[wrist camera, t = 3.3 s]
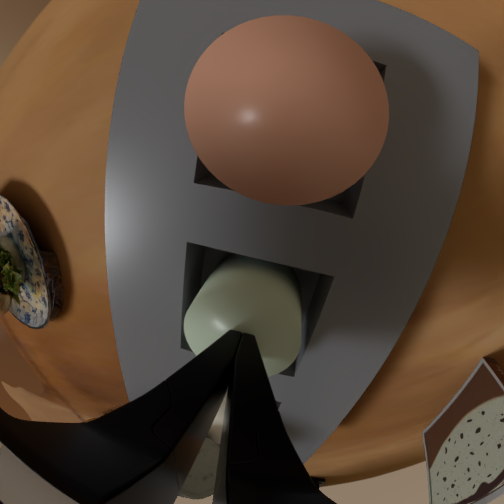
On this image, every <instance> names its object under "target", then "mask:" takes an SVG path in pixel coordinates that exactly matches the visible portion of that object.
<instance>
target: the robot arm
mask: <svg viewBox="0 0 504 504" xmlns="http://www.w3.org/2000/svg"><path fill="white" fill-rule="evenodd" d="M227 389H228V391H227ZM226 392H227V397H226V404H225V411H224V418H223V426H222V433H221V441H220V448H219V456H218V464H217V471H216V479H215V487H214V494H213V502H212V504H337V503H335V502H334V501H332V500H331V499H330V498H328V497H327V496H325V495H324V494H323V493H322V492H321V491H320V490H319V487H320V486H322V485H323V484H325V479H311V478H310V476H309V474H308V472H307V470H306V469H305V467H304V465H303V463H302V461H301V459H300V457H299V456H298V454H297V452H296V450H295V448H294V446H293V444H292V442H291V440H290V438H289V436H288V434H287V431H286V428H285V426H284V423H283V421H282V418H281V415H280V412H279V411H278V410H279V409H278V406H277V403H276V400H275V397H274V394H273V391H272V388H271V384H270V381H269V378H268V375H267V372H266V369H265V366H264V363H263V360H262V356H261V353H260V350H259V347H258V344H257V341H256V337H255V336H254V335H253V334H248V333H243V334H242V332H240V331H236V330H232V329H230V330H229V331H227V332H226V333H225V334H224V335H222V336H221V337H220V338H219V339H217V340H216V341H215V342H213V343H212V344H211V345H210V346H208V347H207V348H206V349H205V350H203V351H202V352H201V353H199V354H198V355H197V356H196V357H194V358H193V359H192V360H190V361H189V362H188V363H186V364H185V365H184V366H182V367H181V368H180V369H178V370H177V371H176V372H174V373H173V374H172V375H170V376H169V377H168V378H166V380H164V381H162V382H161V383H160V384H158V385H157V386H155V387H154V388H152V389H151V390H149V391H148V392H147V393H145V394H143V395H142V396H140V397H138V398H136V399H135V400H133V401H131V402H129V403H127V404H125V405H123V406H121V407H119V408H117V409H115V410H113V411H111V412H109V413H107V414H105V415H103V416H101V417H99V418H97V419H94V420H91V421H87V422H82V423H55V422H38V421H27V420H21V419H18V418H14V417H12V416H11V415H8V414H7V413H6V412H5V411H4V410H2V409H1V408H0V442H1V443H2V444H3V445H2V446H1V448H0V504H174V502H175V500H176V498H177V496H178V494H179V491H180V490H181V488H182V486H183V484H184V482H185V480H186V478H187V476H188V474H189V472H190V470H191V468H192V466H193V463H194V461H195V459H196V457H197V455H198V453H199V451H200V449H201V447H202V445H203V443H204V440H205V438H206V436H207V434H208V432H209V430H210V428H211V426H212V423H213V421H214V419H215V417H216V415H217V413H218V410H219V408H220V406H221V404H222V402H223V399H224V397H225V395H226Z"/></svg>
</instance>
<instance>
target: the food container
mask: <svg viewBox="0 0 504 504" xmlns="http://www.w3.org/2000/svg"><path fill="white" fill-rule="evenodd" d="M422 436H423V442H424V449H425V457H426V465H427V473H428V474H427V475H428V487H429V504H487V503H489V502H491V501H492V500H494V499H496V498H497V497H499V496H500V495H502V494H504V371H503V370H502V368H501V367H500V366H499V364H498V363H497V362H496V361H495V360H494V359H491V358H484V357H483V358H482V359H481V361H480V362H479V364H478V365H477V367H476V368H475V370H474V371H473V372H472V374H471V375H470V377H469V378H468V379H467V381H466V382H465V383H464V385H463V386H462V387H461V389H460V390H459V391H458V392H457V394H456V395H455V396H454V397H453V399H452V400H451V401H450V402H449V403H448V405H447V406H446V407H445V408H444V409H443V410H442V412H441V413H440V414H439V415H438V416H437V417H436V418H435V419H434V420H433V422H432V423H431V424H430V425H429V426H428V427H427V428H426V429H425V430H424V431H423V432H422Z"/></svg>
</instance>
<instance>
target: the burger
mask: <svg viewBox="0 0 504 504" xmlns="http://www.w3.org/2000/svg"><path fill="white" fill-rule="evenodd" d="M58 267H59V265H58V260H57V256H56V254H55V253H54V252H46V251H40V249H39V247H38V246H37V243H36V241H35V239H34V235H33V234H32V232H31V230H30V226H29V224H28V223H27V222H26V221H25V220H24V219H23V218H22V217H21V216H20V214H19V213H18V212H17V210H16V209H15V207H14V205H13V204H12V203H11V202H10V201H9V200H8V199H7V198H5V197H4V196H3V195H1V194H0V316H1V315H3V314H5V313H7V312H8V310H9V311H10V312H11V313H12V314H13V315H14V316H15V317H16V318H17V319H18V320H19V321H20V322H21V323H23V324H25V325H26V326H28V327H29V328H33V329H42V328H44V327H45V326H46V325H47V324H48V321H52V320H54V319H55V318H57V317H58V315H59V314H60V312H61V309H62V305H63V290H62V287H63V286H60V284H61V281H62V279H61V275H60V273H59V270H58ZM59 275H60V278H59Z"/></svg>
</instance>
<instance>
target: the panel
mask: <svg viewBox="0 0 504 504" xmlns="http://www.w3.org/2000/svg"><path fill="white" fill-rule="evenodd" d="M275 15H292V16H301V17H306V18H310V19H314V20H318V21H320V22H323V23H326V24H328V25H330V26H332V27H334V28H336V29H338V30H340V31H341V32H343V33H344V34H346V35H347V36H349V37H350V38H351V39H353V40H354V41H355V42H356V43H357V44H358V45H359V46H360V47H362V49H363V50H364V51H365V52H366V53H367V54H368V56H369V57H370V58H371V60H372V61H373V63H374V64H375V66H376V67H377V69H378V71H379V73H380V75H381V77H382V80H383V82H384V85H385V89H386V92H387V97H388V103H389V123H388V130H387V134H386V138H385V141H384V144H383V147H382V149H381V151H380V153H379V155H378V157H377V159H376V160H375V162H374V163H373V165H372V166H371V167H370V169H369V170H368V171H367V172H366V173H365V175H364V176H363V177H361V178H360V179H359V180H358V181H357V182H356V183H355V184H354V185H352V186H351V187H349V188H348V189H346V190H345V191H343V192H341V193H339V194H337V195H335V196H333V197H331V198H328V199H325V200H322V201H319V202H315V203H310V204H306V205H294V206H289V205H275V204H269V203H264V202H260V201H257V200H253V199H251V198H248V197H246V196H244V195H241V194H239V193H237V192H236V191H234V190H232V189H230V188H229V187H227V186H226V185H225V184H223V183H222V182H221V181H219V180H218V179H217V178H216V177H215V176H214V175H213V174H212V173H211V172H210V171H209V170H208V169H207V168H206V166H205V165H204V164H203V163H202V161H201V160H200V158H199V157H198V155H197V153H196V152H195V150H194V148H193V145H192V143H191V141H190V139H189V135H188V132H187V128H186V123H185V116H184V100H185V92H186V88H187V84H188V80H189V78H190V75H191V73H192V70H193V68H194V66H195V65H196V63H197V61H198V60H199V58H200V57H201V55H202V54H203V53H204V52H205V50H206V49H207V48H208V47H209V46H210V45H211V44H212V43H213V42H214V41H215V40H216V39H217V38H219V37H220V36H221V35H223V34H224V33H225V32H227V31H229V30H230V29H232V28H234V27H236V26H238V25H240V24H242V23H245V22H247V21H250V20H254V19H257V18H261V17H267V16H275ZM478 74H479V51H478V50H477V49H475V48H474V47H472V46H471V45H469V44H467V43H466V42H464V41H463V40H461V39H459V38H458V37H456V36H454V35H452V34H451V33H449V32H447V31H445V30H443V29H441V28H440V27H438V26H436V25H434V24H432V23H430V22H428V21H426V20H424V19H421V18H419V17H417V16H415V15H413V14H410V13H408V12H406V11H403V10H401V9H398V8H396V7H393V6H391V5H388V4H385V3H382V2H380V1H377V0H140V2H139V5H138V8H137V11H136V14H135V17H134V20H133V23H132V26H131V29H130V33H129V36H128V40H127V43H126V47H125V51H124V55H123V59H122V63H121V68H120V72H119V77H118V82H117V87H116V93H115V98H114V104H113V111H112V118H111V125H110V133H109V142H108V153H107V166H106V184H105V245H106V263H107V277H108V287H109V297H110V305H111V313H112V320H113V327H114V333H115V339H116V345H117V350H118V355H119V360H120V365H121V370H122V374H123V379H124V383H125V387H126V391H127V395H128V399H129V402H131V401H133V400H135V399H136V398H138V397H140V396H142V395H143V394H145V393H147V392H148V391H149V390H151V389H152V388H154V387H155V386H157V385H158V384H160V383H161V382H162V381H164V380H166V378H168V377H169V376H170V375H172V374H173V373H174V372H176V371H177V370H178V369H180V368H181V367H182V366H184V365H185V364H186V363H188V362H189V361H190V360H192V359H193V358H194V357H196V355H195V353H194V352H193V351H192V349H191V348H190V346H189V344H188V342H187V340H186V337H185V333H184V318H185V315H186V312H187V310H188V309H189V307H190V305H191V304H192V302H193V301H194V299H195V297H196V296H197V294H198V293H199V291H200V290H201V288H202V286H203V285H204V283H205V282H206V280H207V279H208V277H209V275H210V274H211V272H212V271H213V269H214V268H215V266H216V265H217V264H218V263H219V262H220V261H221V260H222V259H224V258H225V257H227V256H229V255H231V254H233V253H236V254H240V255H244V256H249V257H253V258H257V259H261V260H266V261H270V262H274V263H278V264H283V265H287V266H290V267H291V268H292V269H293V271H294V272H295V273H296V275H297V277H298V279H299V281H300V284H301V289H302V329H301V347H300V351H299V353H298V355H297V357H296V359H295V360H294V362H293V363H292V364H291V365H290V366H289V367H288V368H286V369H285V370H284V371H282V372H280V373H278V374H276V375H273V376H270V377H268V378H269V381H270V384H271V388H272V391H273V394H274V397H275V400H276V403H277V406H278V409H279V410H278V411H279V412H280V415H281V418H282V421H283V423H284V426H285V428H286V431H287V434H288V436H289V438H290V440H291V442H292V444H293V446H294V448H295V450H296V452H297V454H298V456H299V457H300V459H301V461H302V463H303V464H304V463H305V462H306V461H307V460H308V459H309V458H310V457H311V456H312V454H313V453H314V452H315V451H316V450H317V449H318V448H319V447H320V446H321V445H322V444H323V442H324V441H325V440H326V439H327V438H328V437H329V436H330V435H331V433H332V432H333V431H334V430H335V429H336V427H337V426H338V425H339V424H340V423H341V421H342V420H343V419H344V418H345V416H346V415H347V414H348V413H349V411H350V410H351V409H352V407H353V406H354V405H355V404H356V402H357V401H358V399H359V398H360V397H361V395H362V394H363V393H364V391H365V390H366V388H367V387H368V386H369V384H370V383H371V381H372V380H373V378H374V377H375V375H376V374H377V372H378V371H379V369H380V368H381V366H382V365H383V363H384V362H385V360H386V359H387V357H388V355H389V354H390V352H391V350H392V349H393V347H394V345H395V344H396V342H397V340H398V339H399V337H400V335H401V333H402V332H403V330H404V328H405V326H406V324H407V323H408V321H409V319H410V317H411V315H412V313H413V311H414V309H415V307H416V305H417V303H418V301H419V299H420V297H421V295H422V293H423V291H424V289H425V287H426V284H427V282H428V280H429V278H430V275H431V273H432V271H433V269H434V266H435V264H436V261H437V259H438V256H439V254H440V251H441V249H442V246H443V244H444V241H445V238H446V235H447V233H448V230H449V227H450V224H451V221H452V218H453V215H454V211H455V208H456V205H457V201H458V198H459V194H460V191H461V187H462V183H463V179H464V175H465V171H466V167H467V162H468V157H469V152H470V147H471V141H472V135H473V129H474V122H475V114H476V105H477V93H478ZM227 390H228V389H227ZM216 444H217V443H216ZM217 445H218V447H219V448H220V444H217Z"/></svg>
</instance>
